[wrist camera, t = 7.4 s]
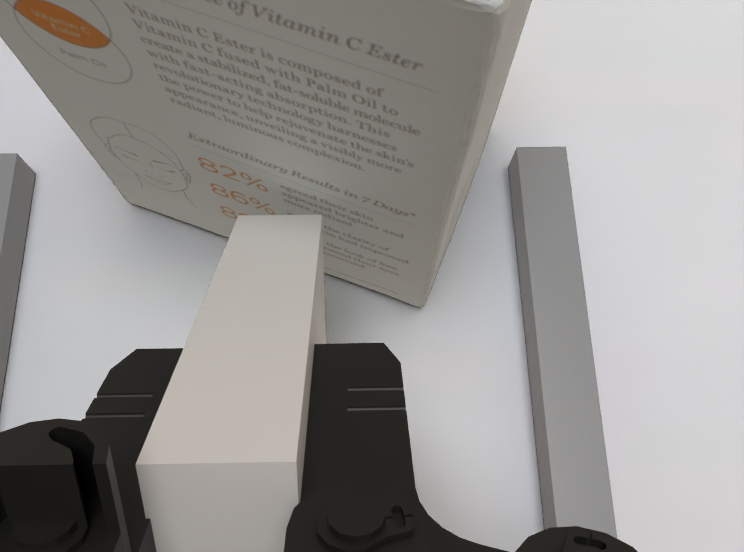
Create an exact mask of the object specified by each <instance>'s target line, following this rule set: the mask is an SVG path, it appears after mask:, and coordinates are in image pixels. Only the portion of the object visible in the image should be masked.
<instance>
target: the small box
mask: <svg viewBox="0 0 744 552" xmlns="http://www.w3.org/2000/svg"><path fill="white" fill-rule="evenodd" d="M531 1H532V0H0V36H1V37H2V39H3V40H4V42H5V43H6V44H7V46H8V47H9V48H10V49H11V51H12V52H13V53H14V54H15V56H16V57H17V58H18V60H19V61H20V62H21V64H22V65H23V66H24V67H25V69H26V70H27V71H28V73H29V74H30V75H31V77H32V78H33V79H34V81H35V82H36V83H37V85H38V86H39V87H40V88H41V90H42V91H43V92H44V94H45V95H46V96H47V98H48V99H49V100H50V102H51V103H52V104H53V105H54V107H55V108H56V109H57V111H58V112H59V113H60V114H61V116H62V117H63V118H64V120H65V121H66V122H67V123H68V125H69V126H70V127H71V129H72V130H73V131H74V132H75V134H76V135H77V136H78V138H79V139H80V140H81V142H82V143H83V144H84V146H85V147H86V148H87V150H88V151H89V152H90V154H91V155H92V156H93V157H94V159H95V160H96V161H97V162H98V164H99V165H100V166H101V168H102V169H103V170H104V172H105V173H106V174H107V176H108V177H109V178H110V179H111V181H112V182H113V184H114V185H115V186H116V187H117V189H118V190H119V191H120V192H121V194H122V195H123V197H124V199H126V200H127V201H128V202H130V203H132V204H135V205H139V206H142V207H144V208H147V209H150V210H153V211H156V212H159V213H161V214H164V215H167V216H170V217H173V218H175V219H178V220H181V221H184V222H186V223H189V224H192V225H195V226H198V227H201V228H203V229H206V230H209V231H211V232H214V233H217V234H220V235H223V236H225V237H228V238H229V237H230V235H231V232H232V230H233V227H234V225H235V222H236V220H237V218H238V215H322V226H323V256H324V272H325V273H327V274H330V275H333V276H336V277H339V278H342V279H345V280H347V281H350V282H353V283H356V284H358V285H361V286H364V287H366V288H369V289H372V290H375V291H378V292H380V293H383V294H386V295H388V296H391V297H394V298H396V299H399V300H402V301H404V302H407V303H409V304H411V305H414V306H418V307H421V306H423V305H424V304H425V303H426V301H427V298H428V296H429V293H430V290H431V288H432V285H433V282H434V280H435V277H436V274H437V272H438V269H439V267H440V264H441V262H442V259H443V257H444V254H445V251H446V249H447V246H448V244H449V241H450V239H451V236H452V234H453V231H454V228H455V226H456V223H457V220H458V218H459V215H460V212H461V210H462V207H463V204H464V201H465V199H466V196H467V193H468V190H469V188H470V185H471V182H472V179H473V177H474V174H475V171H476V168H477V166H478V163H479V160H480V157H481V155H482V152H483V149H484V146H485V143H486V140H487V137H488V134H489V131H490V128H491V125H492V122H493V119H494V116H495V113H496V110H497V107H498V104H499V101H500V98H501V95H502V92H503V89H504V86H505V83H506V79H507V76H508V73H509V70H510V67H511V64H512V61H513V58H514V55H515V51H516V48H517V45H518V42H519V39H520V36H521V33H522V29H523V26H524V23H525V20H526V17H527V14H528V11H529V8H530V4H531Z"/></svg>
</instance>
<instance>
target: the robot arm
mask: <svg viewBox="0 0 744 552" xmlns="http://www.w3.org/2000/svg"><path fill="white" fill-rule="evenodd" d="M0 552H508V551H504V550H500V549H496V548H492V547H488V546H484V545H480V544H477V543H474V542H471V541H468V540H465V539H462V538H460V537H458V536H456V535H454V534H453V533H451V532H449V531H447V530H446V529H444V528H442V527H441V526H440V525H439V524H438V523H437V522H435V521H434V520H433V519H432V518H431V517H430V516H429V515H428V514H427V512H426V511H425V509H424V508H423V506H422V505H421V503H420V502H419V498H418V495H417V492H416V488H415V481H414V472H413V464H412V455H411V447H410V439H409V430H408V422H407V414H406V405H405V397H404V391H403V380H402V372H401V363H400V361H399V360H398V359H397V358H396V357H395V356H394V354H393V353H392V352H391V351H390V350H389V349H388V347H387V346H386V345H385V344H384V343H348V344H326V315H325V286H324V256H323V226H322V215H238V218H237V220H236V222H235V225H234V227H233V230H232V232H231V235H230V237H229V239H228V242H227V244H226V247H225V249H224V251H223V254H222V256H221V259H220V261H219V264H218V266H217V268H216V271H215V273H214V276H213V278H212V281H211V283H210V285H209V288H208V290H207V293H206V295H205V297H204V300H203V302H202V305H201V307H200V310H199V312H198V314H197V317H196V319H195V322H194V324H193V327H192V329H191V331H190V334H189V336H188V339H187V341H186V343H185V346H184V348H176V349H136V350H135V351H134V352H132V353H131V354H130V355H128V356H127V357H126V358H125V359H123V360H122V361H121V362H119V363H118V364H117V365H116V366H114V367H113V368H112V369H111V370H110V371H109V373H108V375H107V377H106V378H105V380H104V382H103V384H102V385H101V387H100V389H99V391H98V393H97V398H94V400H93V401H92V403H91V405H90V407H89V409H88V410H87V412H86V418H85V419H82V421H76V420H67V419H52V420H44V421H36V422H30V423H27V424H24V425H21V426H18V427H15V428H12V429H9V430H6V431H3V432H0ZM516 552H637V551H636V550H635V549H634V548H633V547H632V546H630V545H628V544H626V543H624V542H622V541H620V540H618V539H616V538H615V537H613V536H611V535H609V534H607V533H604V532H600V531H596V530H592V529H587V528H583V527H579V526H570V527H551V528H548V529H546V530H543V531H541V532H539V533H536V534H534V535H532V536H529V537H528V538H527V539H526V540H525V541H524V542H523V544H522V545H521V546H520V547H519V548H518V549H517V551H516Z"/></svg>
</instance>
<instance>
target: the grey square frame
mask: <svg viewBox="0 0 744 552" xmlns="http://www.w3.org/2000/svg"><path fill="white" fill-rule="evenodd" d="M508 170H509V180H510V190H511V200H512V210H513V220H514V230H515V240H516V250H517V260H518V270H519V280H520V290H521V300H522V310H523V320H524V330H525V340H526V350H527V360H528V370H529V380H530V390H531V400H532V410H533V420H534V430H535V440H536V450H537V460H538V470H539V480H540V490H541V500H542V510H543V520H544V530H546V529H548V528H551V527H570V526H579V527H583V528H587V529H592V530H596V531H600V532H604V533H607V534H609V535H611V536H613V537H615V538H616V539H617V533H616V525H615V517H614V510H613V502H612V495H611V487H610V480H609V472H608V464H607V457H606V449H605V442H604V434H603V426H602V419H601V411H600V404H599V396H598V388H597V381H596V373H595V366H594V358H593V350H592V343H591V335H590V328H589V320H588V312H587V305H586V297H585V290H584V282H583V275H582V267H581V259H580V252H579V244H578V237H577V229H576V221H575V214H574V206H573V199H572V191H571V183H570V176H569V168H568V161H567V153H566V147H517V148H516V150H515V153H514V155H513V157H512V160H511V162H510V164H509V167H508ZM34 180H35V172H34V171H33V170H32V169H31V168H30V167H29V166H28V165H27V164H26V163H25V162H24V160H23V159H22V158H21V157H20V156H19V155H18V154H0V406H1V399H2V393H3V386H4V379H5V373H6V366H7V359H8V353H9V346H10V339H11V333H12V326H13V319H14V313H15V306H16V299H17V293H18V286H19V279H20V273H21V266H22V259H23V253H24V246H25V240H26V233H27V226H28V220H29V213H30V206H31V200H32V193H33V186H34Z"/></svg>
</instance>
